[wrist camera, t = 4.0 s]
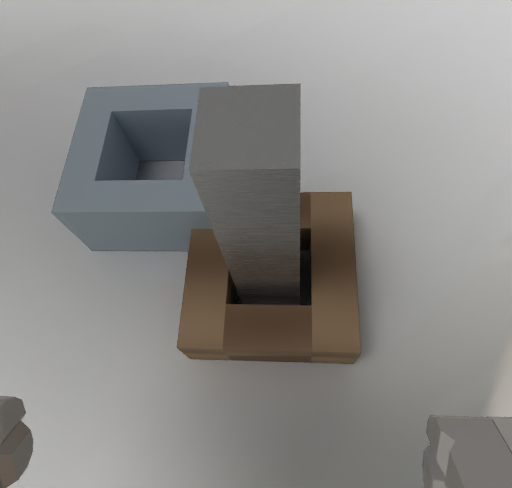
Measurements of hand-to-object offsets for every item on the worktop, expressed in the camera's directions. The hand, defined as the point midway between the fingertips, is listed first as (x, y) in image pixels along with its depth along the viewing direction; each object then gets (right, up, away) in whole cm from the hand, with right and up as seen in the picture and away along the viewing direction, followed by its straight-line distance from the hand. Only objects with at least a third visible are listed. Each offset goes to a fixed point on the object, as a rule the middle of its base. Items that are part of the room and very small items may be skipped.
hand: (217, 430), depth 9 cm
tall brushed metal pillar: (+2, +1, +17) cm, 17 cm away
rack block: (-5, +7, +20) cm, 22 cm away
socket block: (+2, +1, +17) cm, 17 cm away
